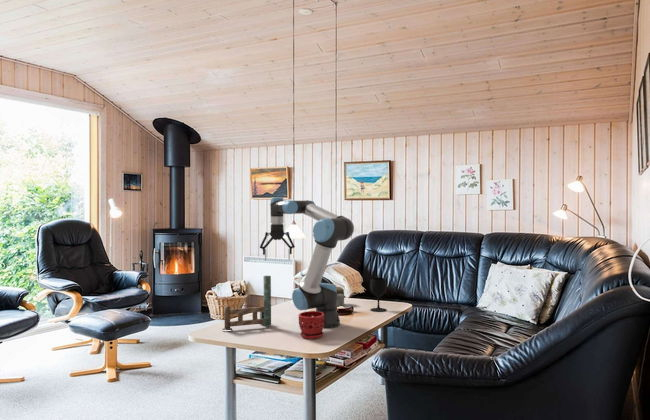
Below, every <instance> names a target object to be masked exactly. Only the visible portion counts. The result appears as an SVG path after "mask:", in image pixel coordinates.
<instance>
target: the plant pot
mask: <svg viewBox="0 0 650 420" xmlns="http://www.w3.org/2000/svg"><path fill="white" fill-rule="evenodd" d="M297 317H298V324H299V329H300V336H301V337H302V338H304V339H307V340H314V339H315V340H316V339H317V338H318V339H320V338H322V337H323V335H324V330H323V329H324V328H323V327H324V313H323V312H319V311H316V310H308V311H307V310H306V311H303V312H300V313H298V316H297Z"/></svg>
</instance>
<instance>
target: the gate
mask: <svg viewBox="0 0 650 420" xmlns="http://www.w3.org/2000/svg"><path fill="white" fill-rule="evenodd" d="M271 278H272V277H271V275H263V306H253V307H243V308H231V305H224V307H223V308H224V310H223V311H224V315H223V316H224V317H223V318H224V328H225V329H229V328H233V327H240V326H241V327H242V326H250V325H251V326H254V325H260V324H264V325H263V326H271V325H272V279H271ZM260 312H264V319H260V318H258V313H260ZM248 313H252V319H244V314H248ZM236 314H237V320H234V321H233V320H232V321H231V315H236Z"/></svg>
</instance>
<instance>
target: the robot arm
mask: <svg viewBox="0 0 650 420" xmlns="http://www.w3.org/2000/svg"><path fill="white" fill-rule="evenodd" d="M269 206H270V232H267V231H266V232H265V233H264V238H263V239H262V240H261V243H260V244H259V249H261V250H262V255H263V256H264V261H265V262H266V261H267V248H268V246H269V245H270V243H271V242H272V241H281V240H282V242H284V244H285V245H286V246H287V247H288V249H287V251H288V252H287V254H288V255H287V260H288V261H290V260H291V255H292V253H293V250H292V249H294V248H295V244H294V242H293V240H292V238H291V236H290V232H289V231H287V232H285V231H284V230H285V227H284V226H285V225H284V222H285V221H284V220H285V219H284V215H294V214H295V215H299V214H304V215H306V216H308V217H310V218H312V219H313V220H315V221H316V222H315V223H314V225H313V227H312V233H313V234H312V236H313V239H314V242H315V247H314V249H313V253H312V254H311V255H312V256H311V259H310V262H309V266H308V269H307V271H306V275H305V277H304V280H302V281H301V282H300V284H299V287H298V288H295V289H294V290H293V291H292V295H291V298H292V302H293V305H294V306H295V307H294V308H296V309H297V310H299V311H307V310H308V311H309V310H311V309H315V311H319V312H323V313H324V327H323V329H325V328H326V329H329V328H337V327H339V326H341V320H340V316H339V313H338V312H337V288H336V287H337V285H336V284H333V283H327V282H322V279H323V276H324V273H325V270H326V268H327V265H328V261H329V259H330V256H331V253H332V250H333V249H335V248H336V247H337V244H338V242H339V241H345V240H348V239H349V238H351V237H352V235H353V233H354V231H355V226H354V223H353V221H352V220H351V219H349V218H348V217H345V216H344V215H337V214H334V213H333V212H330V211H329V210H327V209H325V208H323V207H320V206H318V205H316V203H315V202H314V200H309V199H307V200H291V199H290V200H284V198H283V197H280V196H279V197H277V196H275V197H274V196H273V197H271V198H270V204H269ZM269 236H270V238H269V240H268V241H267V242H266V240H267V238H268V237H269ZM284 236H286V237H287V239H288V240H289V242H290V243H289V242H288V241H287V240H286V239H285V238H284ZM265 243H266V244H265ZM290 244H291V245H290Z"/></svg>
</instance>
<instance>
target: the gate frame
mask: <svg viewBox="0 0 650 420" xmlns="http://www.w3.org/2000/svg"><path fill="white" fill-rule="evenodd" d="M259 319H264V312H259ZM259 325H260V326H262V327H263V326H265V325H264V324H259ZM223 330H232V331H233V327H230V328H229V329H225V327H224V328H222V331H223Z"/></svg>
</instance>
